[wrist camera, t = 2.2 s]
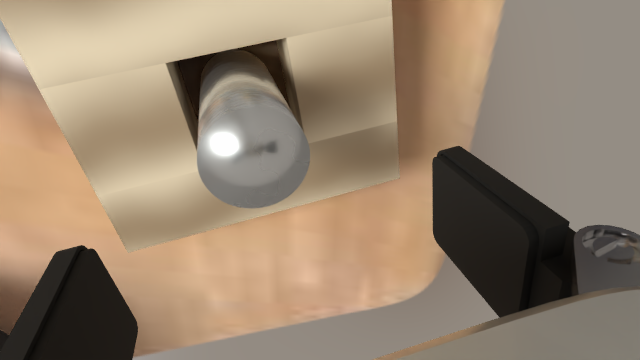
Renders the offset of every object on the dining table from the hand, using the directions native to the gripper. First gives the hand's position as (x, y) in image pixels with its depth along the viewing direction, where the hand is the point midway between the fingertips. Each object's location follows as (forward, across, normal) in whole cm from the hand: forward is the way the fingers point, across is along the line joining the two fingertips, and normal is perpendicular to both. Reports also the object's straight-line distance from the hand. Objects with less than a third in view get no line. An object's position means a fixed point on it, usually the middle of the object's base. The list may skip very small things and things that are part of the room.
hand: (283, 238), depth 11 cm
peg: (+14, 0, -1) cm, 14 cm away
